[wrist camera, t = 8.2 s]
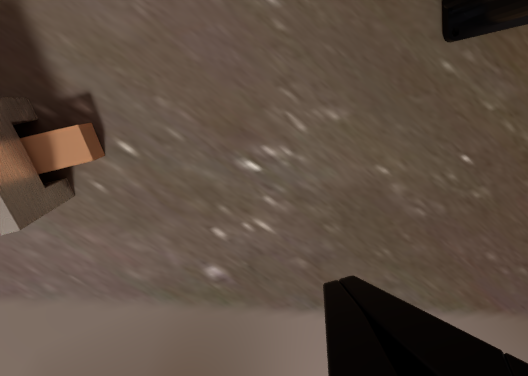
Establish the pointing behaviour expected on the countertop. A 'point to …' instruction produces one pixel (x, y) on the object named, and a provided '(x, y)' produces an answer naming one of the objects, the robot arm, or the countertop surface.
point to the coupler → (63, 147)
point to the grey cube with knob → (23, 173)
